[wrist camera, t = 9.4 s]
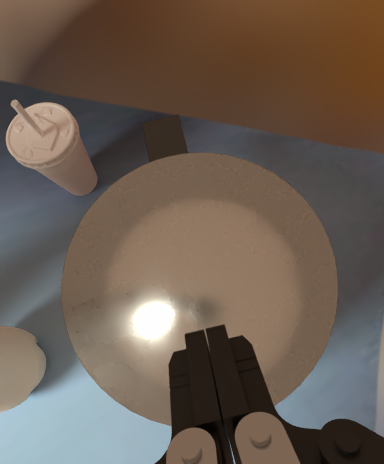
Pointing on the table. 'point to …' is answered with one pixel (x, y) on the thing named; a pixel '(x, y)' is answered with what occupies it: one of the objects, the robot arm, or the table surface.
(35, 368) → the water bottle
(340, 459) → the robot arm
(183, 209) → the cooker lid
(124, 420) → the table surface
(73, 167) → the smoothie
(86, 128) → the table surface
